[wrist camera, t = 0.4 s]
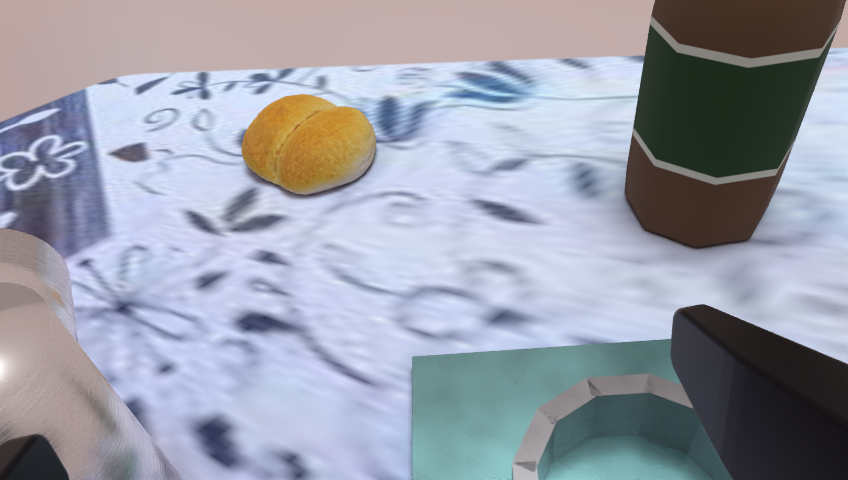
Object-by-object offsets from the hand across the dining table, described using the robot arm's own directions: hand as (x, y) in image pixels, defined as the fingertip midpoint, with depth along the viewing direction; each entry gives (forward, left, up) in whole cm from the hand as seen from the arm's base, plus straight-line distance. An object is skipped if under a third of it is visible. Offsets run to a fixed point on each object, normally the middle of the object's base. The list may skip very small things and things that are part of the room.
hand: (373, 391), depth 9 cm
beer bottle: (+22, -15, -17) cm, 31 cm away
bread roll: (+30, +8, -17) cm, 35 cm away
